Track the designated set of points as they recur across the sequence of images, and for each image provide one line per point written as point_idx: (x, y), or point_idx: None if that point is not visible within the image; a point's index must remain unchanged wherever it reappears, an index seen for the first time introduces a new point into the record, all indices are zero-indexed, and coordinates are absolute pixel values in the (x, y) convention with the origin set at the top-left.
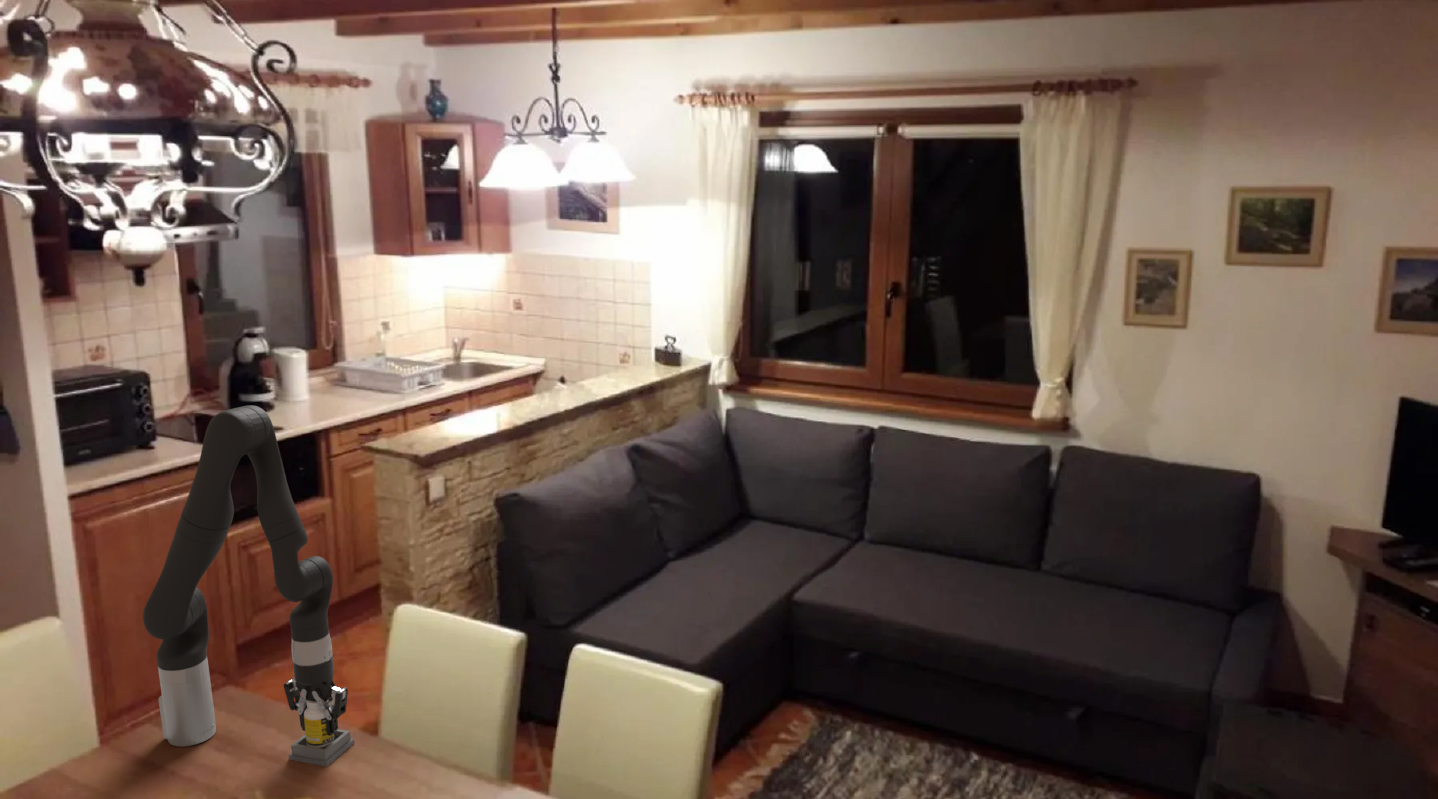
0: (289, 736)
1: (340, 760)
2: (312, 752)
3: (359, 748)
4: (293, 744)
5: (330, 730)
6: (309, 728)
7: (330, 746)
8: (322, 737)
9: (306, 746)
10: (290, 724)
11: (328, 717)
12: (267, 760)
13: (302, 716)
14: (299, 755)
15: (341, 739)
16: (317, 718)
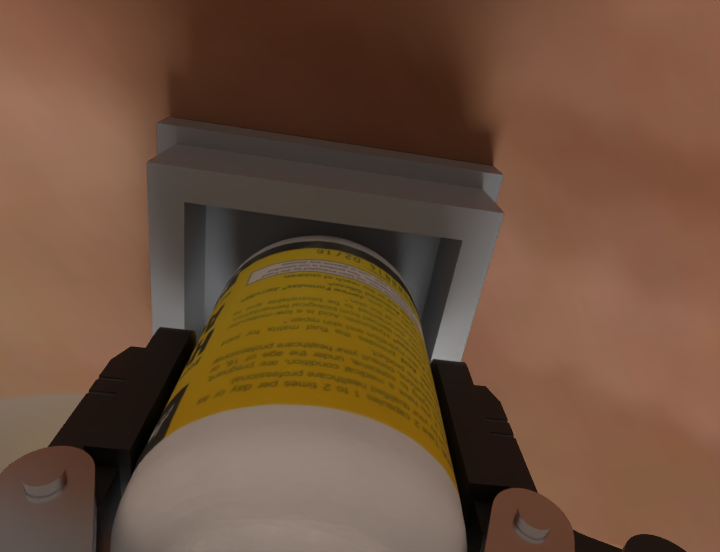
0: (591, 388)
1: (130, 209)
2: (288, 173)
3: (107, 345)
4: (487, 227)
5: (142, 361)
6: (333, 329)
7: (158, 247)
8: (226, 297)
9: (361, 216)
10: (626, 476)
11: (31, 474)
12: (644, 130)
13: (482, 471)
14: (417, 180)
15: None
16: (191, 437)
